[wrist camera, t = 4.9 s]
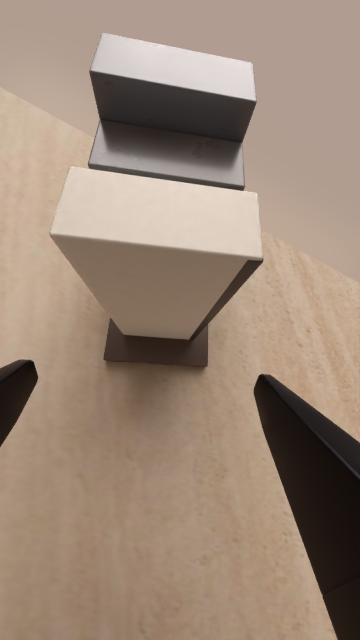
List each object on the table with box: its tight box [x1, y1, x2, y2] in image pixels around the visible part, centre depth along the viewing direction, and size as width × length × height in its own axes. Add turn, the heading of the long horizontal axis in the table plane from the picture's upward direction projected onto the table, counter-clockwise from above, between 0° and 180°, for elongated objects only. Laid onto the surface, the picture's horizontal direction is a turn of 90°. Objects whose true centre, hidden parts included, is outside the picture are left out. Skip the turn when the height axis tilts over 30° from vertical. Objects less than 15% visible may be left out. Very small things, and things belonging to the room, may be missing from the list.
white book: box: [49, 167, 263, 340], centre depth 13 cm, size 3×7×14 cm, turn 87°
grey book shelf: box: [88, 33, 256, 367], centre depth 15 cm, size 16×10×16 cm, turn 177°
